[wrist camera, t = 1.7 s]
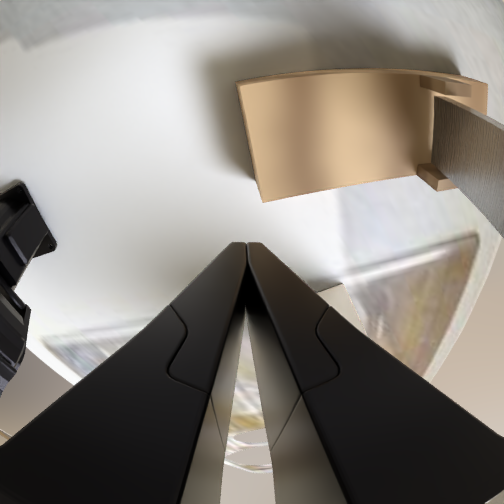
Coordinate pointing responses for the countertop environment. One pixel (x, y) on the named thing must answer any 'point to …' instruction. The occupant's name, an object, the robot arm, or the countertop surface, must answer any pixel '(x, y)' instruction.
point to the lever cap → (471, 155)
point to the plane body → (346, 126)
